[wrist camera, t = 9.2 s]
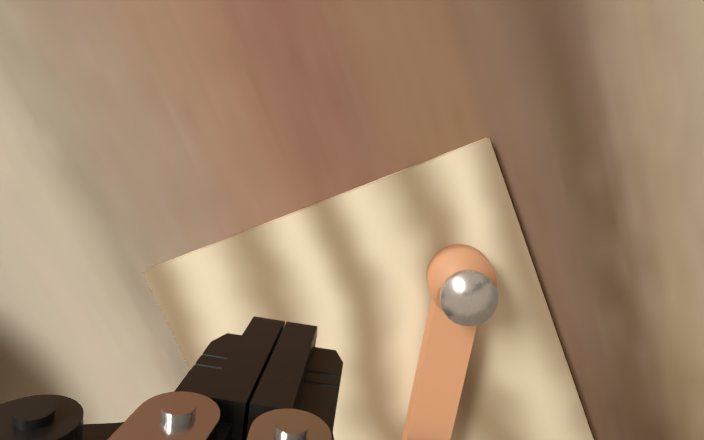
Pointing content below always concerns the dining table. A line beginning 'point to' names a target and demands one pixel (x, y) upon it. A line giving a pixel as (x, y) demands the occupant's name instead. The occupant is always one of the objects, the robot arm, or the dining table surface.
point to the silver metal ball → (468, 297)
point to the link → (442, 351)
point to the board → (389, 299)
